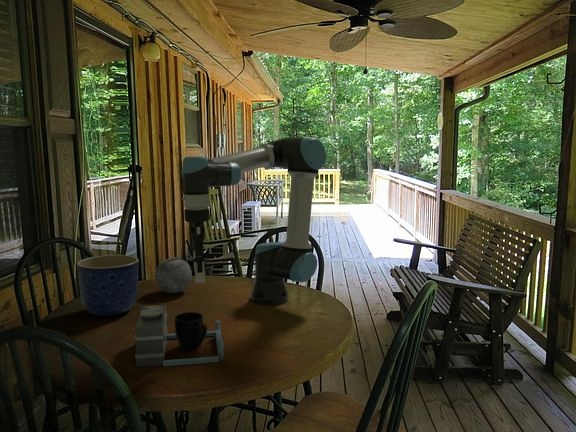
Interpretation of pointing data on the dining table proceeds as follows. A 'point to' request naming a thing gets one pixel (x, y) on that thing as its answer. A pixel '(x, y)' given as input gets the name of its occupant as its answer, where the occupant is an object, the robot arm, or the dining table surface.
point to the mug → (190, 330)
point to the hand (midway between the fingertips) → (199, 276)
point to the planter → (108, 283)
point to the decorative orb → (173, 275)
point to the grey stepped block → (151, 336)
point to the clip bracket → (204, 359)
